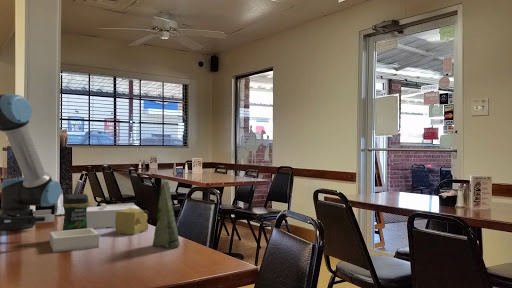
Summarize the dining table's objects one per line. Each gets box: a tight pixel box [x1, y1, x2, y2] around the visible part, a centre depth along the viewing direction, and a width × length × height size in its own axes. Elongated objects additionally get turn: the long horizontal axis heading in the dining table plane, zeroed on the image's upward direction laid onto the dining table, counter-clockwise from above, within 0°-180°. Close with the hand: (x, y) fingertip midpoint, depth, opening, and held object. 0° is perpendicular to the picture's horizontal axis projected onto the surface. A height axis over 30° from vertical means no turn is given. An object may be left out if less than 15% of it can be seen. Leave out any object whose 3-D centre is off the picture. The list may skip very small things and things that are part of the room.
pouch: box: [151, 180, 180, 249], centre depth 157 cm, size 11×12×25 cm
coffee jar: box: [61, 193, 90, 231], centre depth 167 cm, size 10×8×19 cm
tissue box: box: [86, 202, 141, 230], centre depth 199 cm, size 14×25×11 cm, turn 117°
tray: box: [49, 228, 100, 253], centre depth 155 cm, size 13×15×5 cm
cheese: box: [114, 208, 149, 235], centre depth 183 cm, size 10×11×10 cm
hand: (52, 215), depth 162 cm, fingers open, 13 cm apart
